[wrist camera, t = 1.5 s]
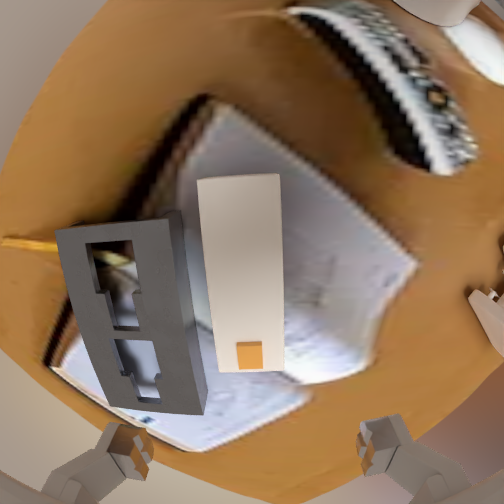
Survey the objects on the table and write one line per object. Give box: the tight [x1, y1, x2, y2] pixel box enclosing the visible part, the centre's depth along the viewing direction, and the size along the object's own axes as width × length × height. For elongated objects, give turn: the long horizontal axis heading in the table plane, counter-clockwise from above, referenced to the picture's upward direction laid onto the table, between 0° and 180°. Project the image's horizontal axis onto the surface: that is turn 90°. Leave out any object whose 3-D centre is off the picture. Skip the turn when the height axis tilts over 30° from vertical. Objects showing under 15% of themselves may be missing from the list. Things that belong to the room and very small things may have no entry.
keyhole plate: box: [55, 210, 208, 415], centre depth 29 cm, size 22×12×4 cm, turn 3°
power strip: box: [197, 173, 284, 372], centre depth 25 cm, size 16×6×8 cm, turn 3°
